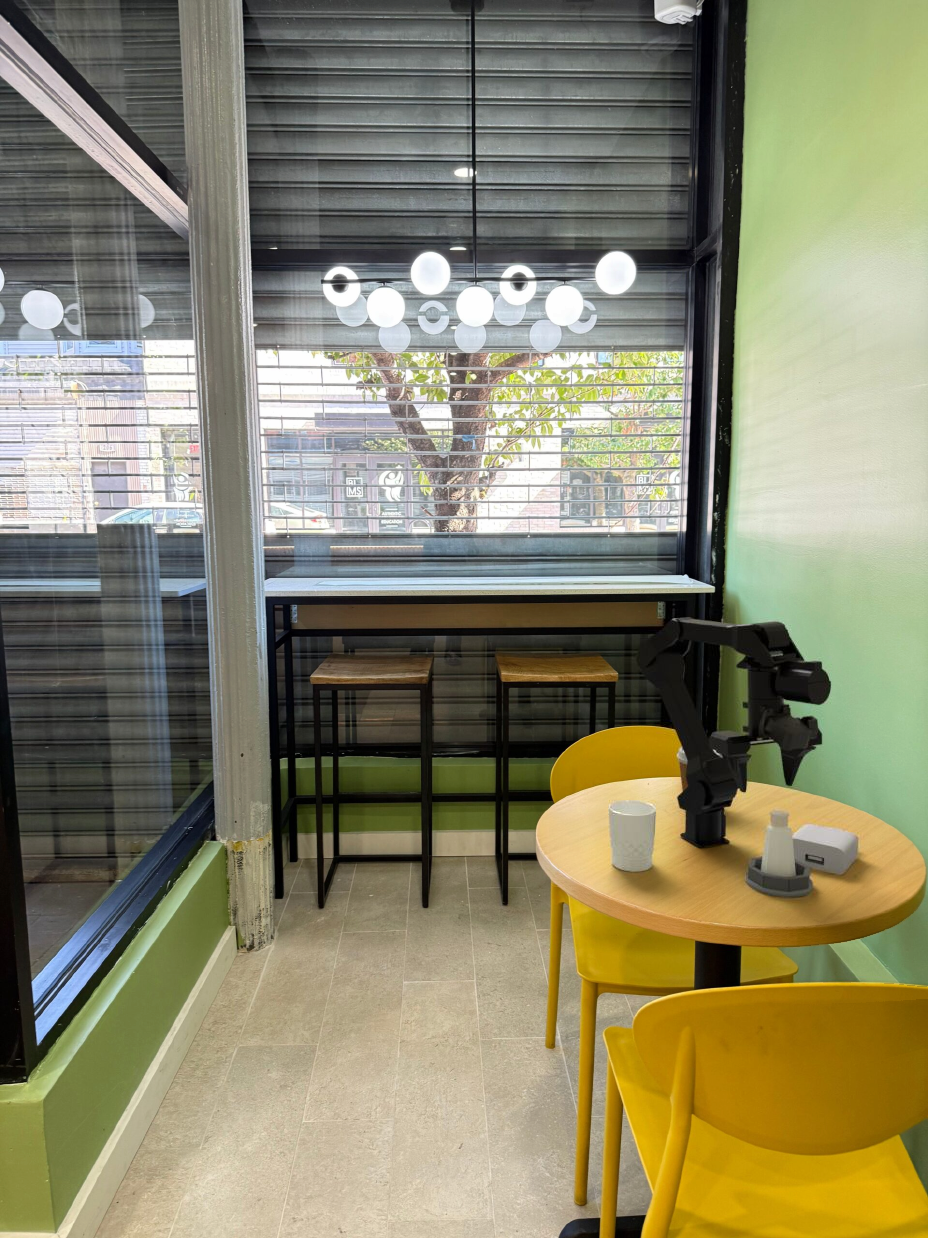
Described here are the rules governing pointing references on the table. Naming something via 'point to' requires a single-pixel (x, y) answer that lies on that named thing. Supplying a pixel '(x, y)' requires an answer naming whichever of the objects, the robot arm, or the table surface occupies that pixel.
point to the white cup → (632, 834)
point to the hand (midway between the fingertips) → (766, 789)
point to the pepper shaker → (778, 846)
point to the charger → (825, 848)
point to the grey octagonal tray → (779, 880)
